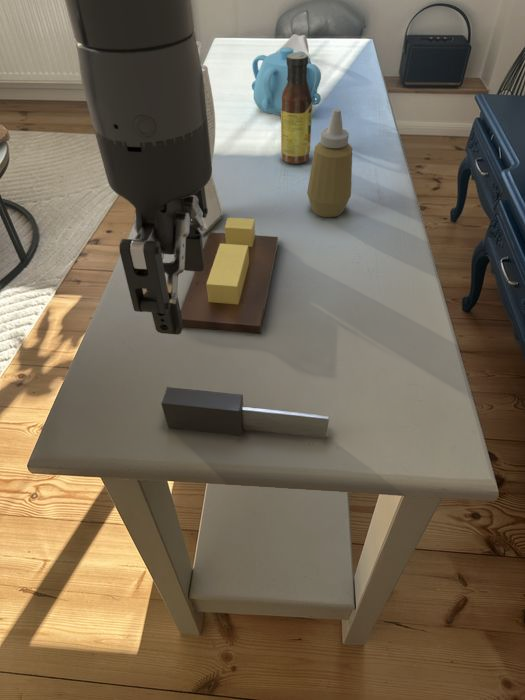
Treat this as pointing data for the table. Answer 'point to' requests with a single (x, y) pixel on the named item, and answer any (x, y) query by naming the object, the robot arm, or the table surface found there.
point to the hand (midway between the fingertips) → (182, 298)
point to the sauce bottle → (296, 111)
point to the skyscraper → (210, 189)
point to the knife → (234, 415)
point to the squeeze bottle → (331, 170)
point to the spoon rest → (297, 44)
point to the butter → (228, 274)
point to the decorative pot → (279, 80)
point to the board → (252, 297)
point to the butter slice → (240, 231)
